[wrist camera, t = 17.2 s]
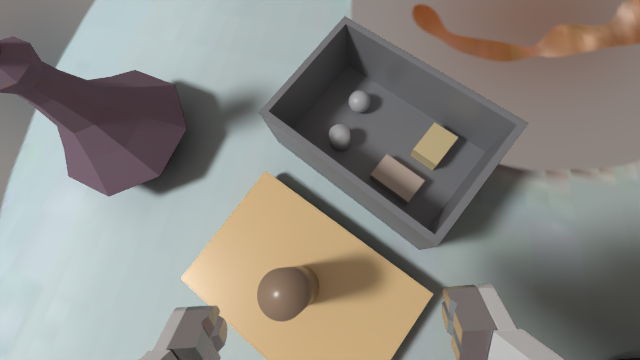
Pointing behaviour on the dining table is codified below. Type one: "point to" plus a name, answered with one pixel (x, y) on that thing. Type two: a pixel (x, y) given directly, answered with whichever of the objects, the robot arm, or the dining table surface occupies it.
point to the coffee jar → (631, 359)
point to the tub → (391, 131)
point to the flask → (99, 118)
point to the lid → (303, 282)
